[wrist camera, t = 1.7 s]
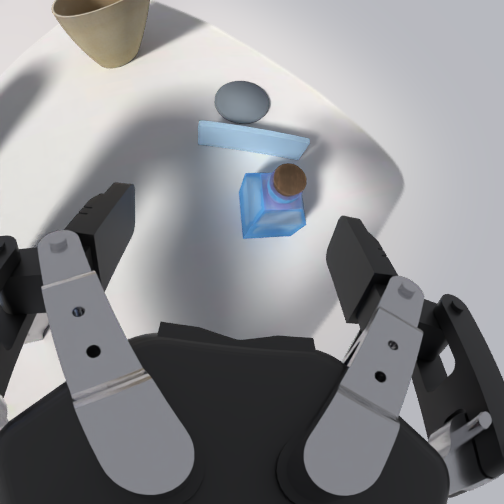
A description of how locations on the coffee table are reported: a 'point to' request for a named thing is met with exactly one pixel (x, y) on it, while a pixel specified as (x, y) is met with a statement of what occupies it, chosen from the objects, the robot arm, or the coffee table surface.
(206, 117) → the coffee table surface
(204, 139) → the acrylic wall
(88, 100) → the coffee table surface
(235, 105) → the felt coaster
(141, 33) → the plant pot
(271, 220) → the perfume bottle
